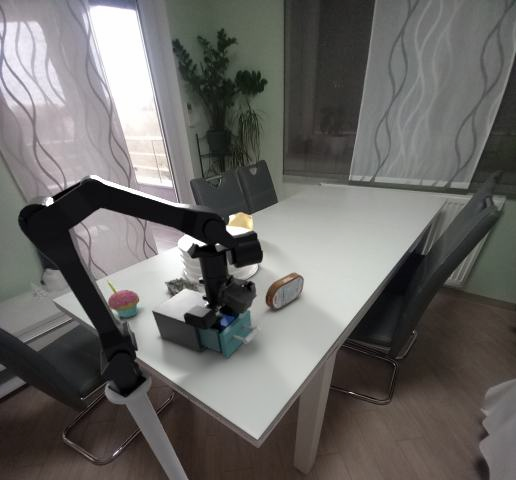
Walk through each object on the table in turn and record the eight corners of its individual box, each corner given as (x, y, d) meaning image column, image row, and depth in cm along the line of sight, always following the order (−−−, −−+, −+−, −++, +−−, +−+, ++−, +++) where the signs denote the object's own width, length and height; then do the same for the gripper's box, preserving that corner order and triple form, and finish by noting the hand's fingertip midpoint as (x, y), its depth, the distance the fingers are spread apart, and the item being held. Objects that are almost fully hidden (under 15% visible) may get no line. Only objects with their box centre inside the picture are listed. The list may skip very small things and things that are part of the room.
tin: (297, 292, 89) (298, 267, 83) (304, 295, 87) (306, 270, 82) (264, 311, 81) (263, 285, 76) (272, 315, 79) (272, 289, 74)
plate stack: (218, 294, 90) (212, 261, 83) (170, 271, 105) (162, 242, 98) (272, 265, 105) (272, 235, 98) (224, 249, 120) (220, 222, 113)
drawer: (266, 336, 70) (265, 314, 66) (242, 364, 63) (239, 341, 59) (214, 320, 77) (210, 299, 73) (187, 343, 70) (181, 321, 65)
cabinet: (228, 325, 76) (224, 299, 71) (200, 352, 68) (193, 324, 63) (191, 313, 82) (185, 288, 76) (161, 337, 74) (151, 310, 68)
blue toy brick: (227, 340, 67) (225, 326, 64) (213, 335, 69) (210, 321, 66) (236, 331, 69) (235, 317, 66) (222, 327, 71) (220, 313, 68)
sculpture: (255, 233, 135) (254, 209, 128) (250, 241, 126) (248, 217, 119) (233, 232, 137) (230, 209, 130) (226, 241, 128) (223, 217, 121)
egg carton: (201, 294, 91) (199, 283, 88) (181, 302, 87) (178, 291, 85) (185, 283, 97) (182, 273, 94) (165, 291, 93) (162, 280, 91)
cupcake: (125, 324, 79) (109, 287, 72) (108, 316, 83) (90, 280, 75) (149, 310, 85) (136, 274, 77) (131, 303, 88) (117, 268, 81)
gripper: (220, 301, 49) (229, 364, 59) (268, 262, 61) (270, 319, 71) (174, 289, 53) (190, 348, 64) (228, 254, 66) (234, 309, 76)
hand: (224, 330), depth 68 cm, fingers closed on blue toy brick, 4 cm apart
